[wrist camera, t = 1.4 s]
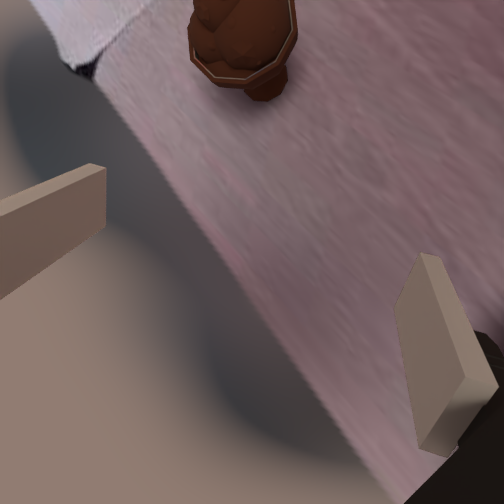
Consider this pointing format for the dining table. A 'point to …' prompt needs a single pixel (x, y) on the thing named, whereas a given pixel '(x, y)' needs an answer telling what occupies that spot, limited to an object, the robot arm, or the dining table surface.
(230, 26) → the ice cream bowl
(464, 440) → the robot arm
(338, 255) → the dining table surface
